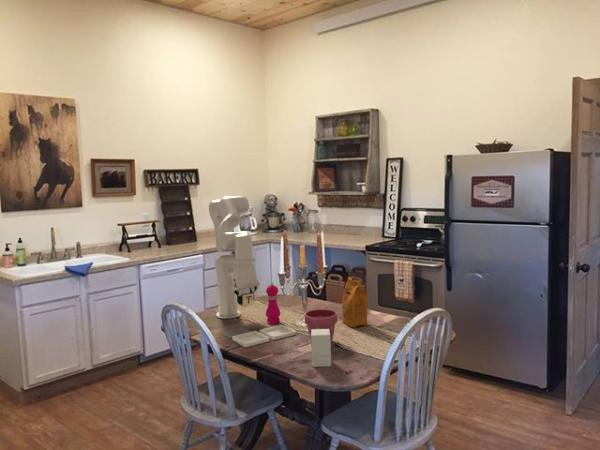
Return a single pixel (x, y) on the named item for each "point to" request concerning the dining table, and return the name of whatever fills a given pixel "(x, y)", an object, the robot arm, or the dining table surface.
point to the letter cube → (247, 299)
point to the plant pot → (321, 320)
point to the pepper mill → (272, 305)
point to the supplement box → (321, 347)
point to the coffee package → (354, 304)
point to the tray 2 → (277, 332)
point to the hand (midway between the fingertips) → (245, 302)
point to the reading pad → (235, 332)
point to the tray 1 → (250, 338)
